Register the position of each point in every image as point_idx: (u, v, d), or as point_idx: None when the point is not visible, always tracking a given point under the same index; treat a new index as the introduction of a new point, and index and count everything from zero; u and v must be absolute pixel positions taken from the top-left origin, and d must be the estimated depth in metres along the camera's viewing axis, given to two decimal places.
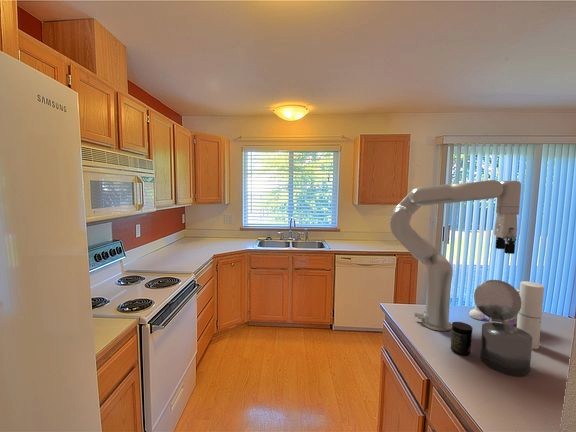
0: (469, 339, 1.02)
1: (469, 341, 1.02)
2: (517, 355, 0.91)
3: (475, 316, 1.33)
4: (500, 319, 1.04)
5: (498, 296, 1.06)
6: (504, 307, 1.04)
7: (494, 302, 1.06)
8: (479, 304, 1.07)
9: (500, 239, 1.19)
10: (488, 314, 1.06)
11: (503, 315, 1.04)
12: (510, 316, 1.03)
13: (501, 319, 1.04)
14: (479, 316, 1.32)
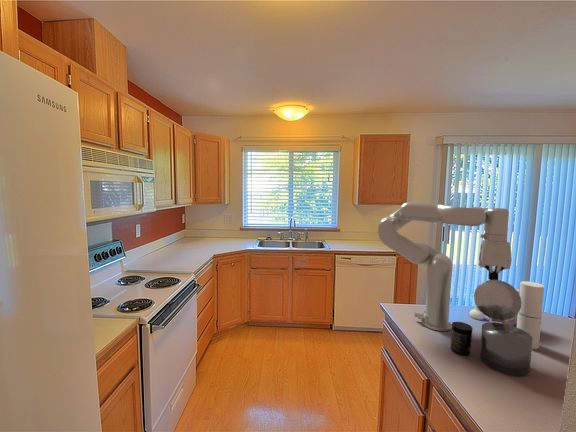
0: (469, 339, 1.02)
1: (469, 341, 1.02)
2: (517, 355, 0.91)
3: (475, 316, 1.33)
4: (500, 319, 1.04)
5: (498, 296, 1.06)
6: (504, 307, 1.04)
7: (494, 302, 1.06)
8: (479, 304, 1.07)
9: None
10: (488, 314, 1.06)
11: (503, 315, 1.04)
12: (510, 316, 1.03)
13: (501, 319, 1.04)
14: (479, 316, 1.32)
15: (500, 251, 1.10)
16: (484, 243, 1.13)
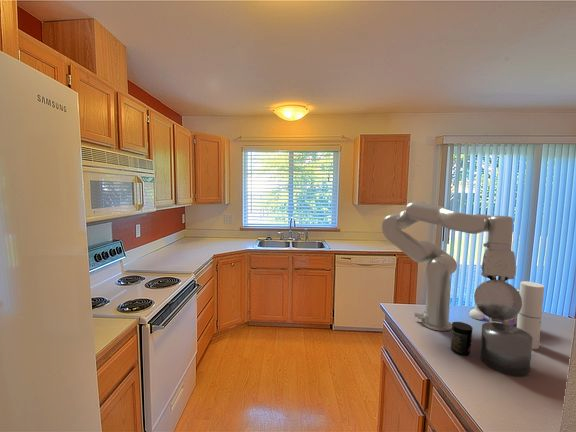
0: (469, 339, 1.02)
1: (469, 341, 1.02)
2: (517, 355, 0.91)
3: (475, 316, 1.33)
4: (500, 319, 1.04)
5: (498, 296, 1.05)
6: (504, 307, 1.04)
7: (494, 302, 1.05)
8: (479, 304, 1.07)
9: (496, 279, 1.09)
10: (488, 314, 1.05)
11: (503, 315, 1.04)
12: (510, 316, 1.03)
13: (501, 319, 1.04)
14: (479, 316, 1.32)
15: (504, 261, 1.06)
16: (487, 252, 1.08)
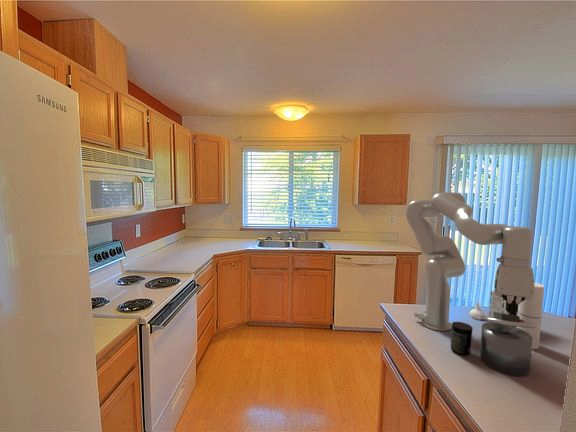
0: (469, 339, 1.02)
1: (469, 341, 1.02)
2: (517, 355, 0.91)
3: (475, 316, 1.33)
4: None
5: None
6: None
7: None
8: None
9: (511, 299, 0.96)
10: None
11: None
12: None
13: None
14: None
15: (521, 279, 0.92)
16: (501, 268, 0.94)
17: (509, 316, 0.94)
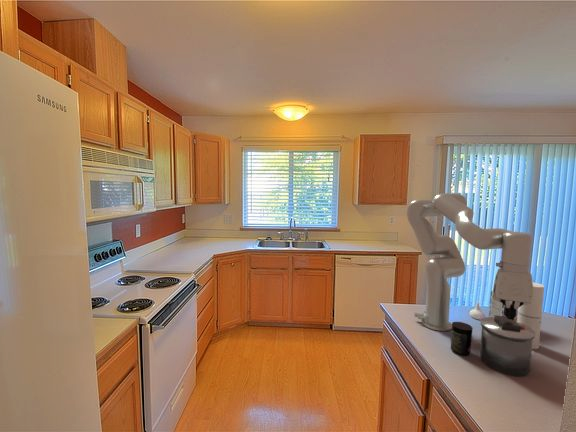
0: (469, 339, 1.02)
1: (469, 341, 1.02)
2: (517, 355, 0.91)
3: (475, 316, 1.33)
4: None
5: None
6: None
7: None
8: None
9: None
10: None
11: None
12: None
13: None
14: (480, 316, 1.32)
15: (520, 284, 0.92)
16: (500, 273, 0.95)
17: (510, 326, 0.93)
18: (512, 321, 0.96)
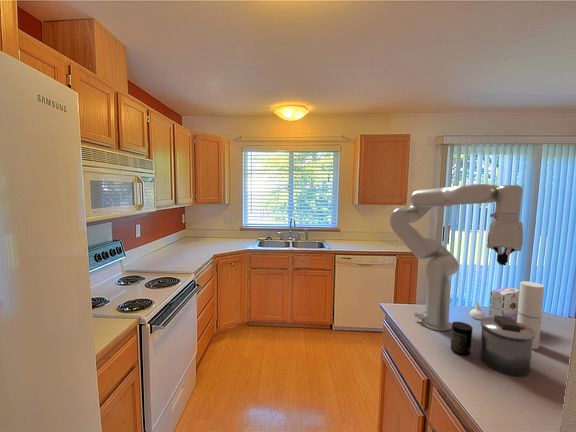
0: (469, 339, 1.02)
1: (469, 341, 1.02)
2: (517, 355, 0.91)
3: (475, 316, 1.33)
4: None
5: None
6: None
7: None
8: None
9: None
10: None
11: None
12: None
13: None
14: (480, 316, 1.32)
15: (511, 231, 1.02)
16: (493, 222, 1.05)
17: (510, 326, 0.93)
18: (512, 321, 0.96)
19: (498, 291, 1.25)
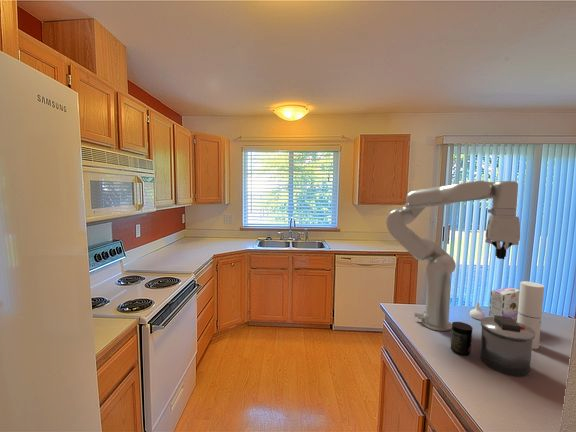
0: (469, 339, 1.02)
1: (469, 341, 1.02)
2: (517, 355, 0.91)
3: (475, 316, 1.33)
4: None
5: None
6: None
7: None
8: None
9: (500, 245, 1.09)
10: None
11: None
12: None
13: None
14: (480, 316, 1.32)
15: (508, 226, 1.05)
16: (492, 218, 1.08)
17: (510, 326, 0.93)
18: (512, 321, 0.96)
19: (498, 291, 1.25)
